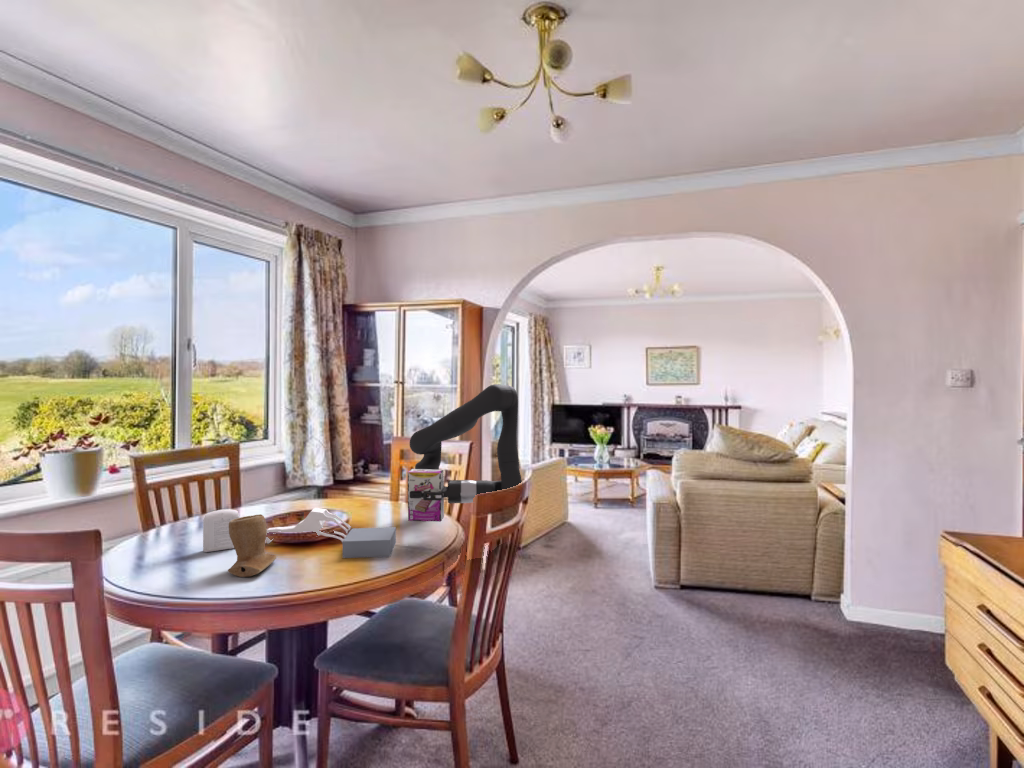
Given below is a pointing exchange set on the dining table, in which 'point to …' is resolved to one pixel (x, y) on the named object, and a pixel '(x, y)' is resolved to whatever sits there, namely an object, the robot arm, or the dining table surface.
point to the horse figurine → (313, 524)
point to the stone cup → (249, 545)
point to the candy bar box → (427, 508)
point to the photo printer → (218, 530)
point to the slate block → (369, 542)
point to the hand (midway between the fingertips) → (410, 492)
